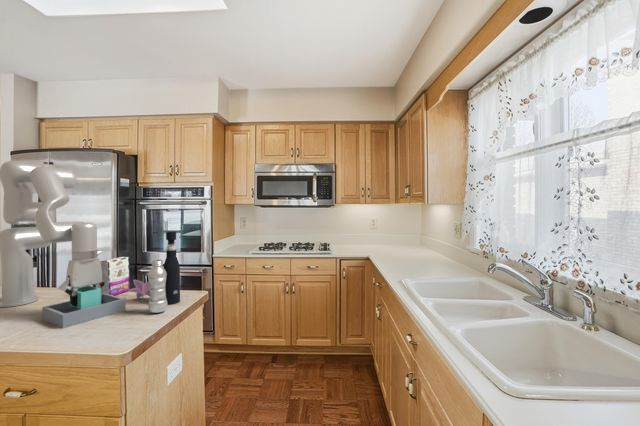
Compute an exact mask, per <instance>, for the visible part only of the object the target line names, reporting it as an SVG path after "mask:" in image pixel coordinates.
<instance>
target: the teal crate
mask: <svg viewBox="0 0 640 426" xmlns="http://www.w3.org/2000/svg"><path fill="white" fill-rule="evenodd" d="M76 295H77V306H76V308H78V309H85V308H89V307H93V306H97V305H100V304H101V289H100V288H96V287H93V285H89V286H84V287H79V288H78V291H77V293H76ZM70 306H72V305H71V304H70ZM73 307H75V306H73Z"/></svg>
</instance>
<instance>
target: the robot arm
mask: <svg viewBox="0 0 640 426" xmlns="http://www.w3.org/2000/svg"><path fill="white" fill-rule="evenodd" d="M77 181H78V180H77V176H76V174H75V172H73V171H72V170H71V169H69V168H67V167H63V166H59V165H56V164H50V163H42V162H35V161H28V160H27V161H25V160H9V161H8V160H7V161H5V162H3V163H2V164H1V166H0V183H1V186H2V189H3V203H2V207H3V209H2V215H3V220H4V222H5V223H6V224H8V225H15V226H16V225H17V226H18V225H35V226H28V227H25V226H24V227H23V226H22V227H11V228H6V229H2V230H1V231H0V269H1V270H0V271H1V272H0V273H1V274H0V275H1V278H0V279H1V300H0V308H12V307H18V306H23V305H24V306H25V305H28V304H32V303H34V302H36V301H38V300H40V297H39V295H35V291H34V290H35V289H34V287H35V284H34V260H33V259H34V258H33V257H32V256H31V255H30V254H29V253H28V252H27V250H32V249H33V250H35V249H42V248H47V247H49V246H51V244H56V243H57V244H58V243H59V244H60V243H68V242H71V260H69V261H68V264H67V269H66V277H65V280H64V281H63V283H61V284H60V285H59V287H58V289H59V290H61V291H63V292H64V293H65V294H67V295H68V296H69V301H70V304H71V305H72V306H75V307H76V306H77V295H76V293H77V291H78V288H80V287H85V286H93V287H96V288H100V289H101V288H102V287H103V286H104V285H105V283H106V282H107V281H108V280H109V278H108V277H106V276H105V275H103V274H102V268H101V263H100V257H99V255H101V254H102V251H101V250H98V226H97V224H96V223H94V222H84V221H56V222H55V211H54V210H56V209H59V208H61V207H64V206H65V205H67V204H68V203H69V202H70V196H69V194H68V192H67V190H66V189H73V188H74V187H75V186H76V185H77ZM27 183H31V184H32V185H33V187H34V190H35V192H36V194H37V196H38V198H39V200H40V201H33V196H34V195H33V194H34V193H33V189H32V188H31V187H30V186H29V185H28V184H27ZM68 287H70V289H69V288H68Z"/></svg>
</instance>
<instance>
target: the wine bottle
mask: <svg viewBox="0 0 640 426" xmlns="http://www.w3.org/2000/svg"><path fill="white" fill-rule="evenodd" d="M175 240H176V241H177V232H176V231H167V232H165V241H167V246H166V250H165V251H166V257H165V260H164V262H163V266H162V267H163V268H164V269H165V270H166V273H167V277H166V287H165V288H166V289H165V291H166V299H167V303H168V305H170V306H172V305H176V304H179V303H180V302H181V276H180V275H181V270H180V269H181V267H180V262H179V259H178V257H177V249H176V245H175ZM168 305H167V306H168Z"/></svg>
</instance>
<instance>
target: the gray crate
mask: <svg viewBox="0 0 640 426" xmlns="http://www.w3.org/2000/svg"><path fill="white" fill-rule="evenodd" d="M126 307H127V306H126V298H124V297H120V296H118V295H116V296H113V295H110V294H106V293H102V294H101V304H100V305H97V306H93V307H89V308H85V309H78V308H76V307H73V306H70V300H68V301H64V302H63V301H62V302H59V303H54V304H49V305H46V306H42V320H43V321H46V322H48V323H50V324H52V325H54V326H56V327H59V328H61V329H66V328H69V327H72V326H76V325H80V324H83V323H86V322H91V321H93V320H96V319H100V318H104V317H107V316H110V315H114V314H116V313H117V314H118V313H120V312H125V311H126Z"/></svg>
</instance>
